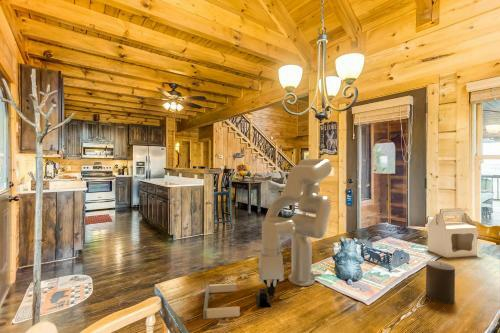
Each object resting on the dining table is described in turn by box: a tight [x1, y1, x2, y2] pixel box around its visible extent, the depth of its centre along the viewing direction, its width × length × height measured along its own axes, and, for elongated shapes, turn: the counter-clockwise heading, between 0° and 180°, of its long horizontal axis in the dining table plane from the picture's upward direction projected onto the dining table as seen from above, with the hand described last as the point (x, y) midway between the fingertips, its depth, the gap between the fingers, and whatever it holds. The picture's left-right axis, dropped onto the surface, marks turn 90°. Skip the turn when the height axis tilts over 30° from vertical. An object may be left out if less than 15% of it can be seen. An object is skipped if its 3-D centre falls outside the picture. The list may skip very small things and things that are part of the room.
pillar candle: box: [425, 260, 456, 304], centre depth 105 cm, size 10×10×15 cm
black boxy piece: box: [254, 288, 272, 309], centre depth 102 cm, size 12×7×5 cm, turn 2°
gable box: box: [427, 207, 478, 258], centre depth 156 cm, size 22×13×28 cm, turn 99°
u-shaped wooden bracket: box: [202, 282, 241, 320], centre depth 101 cm, size 13×19×3 cm
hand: (271, 294), depth 103 cm, fingers closed
